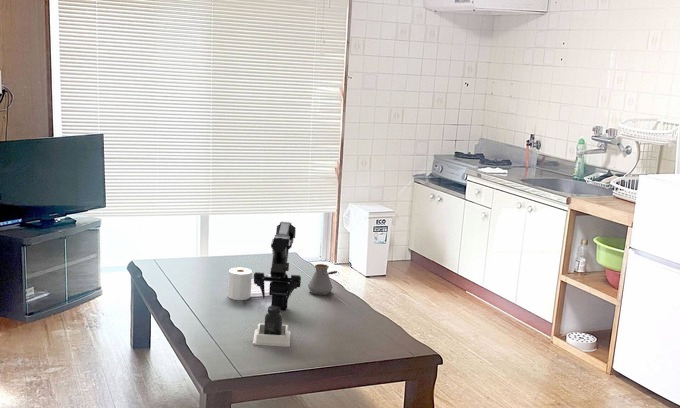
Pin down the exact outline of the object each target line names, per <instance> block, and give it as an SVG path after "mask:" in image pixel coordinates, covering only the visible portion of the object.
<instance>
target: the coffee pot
mask: <svg viewBox="0 0 680 408" xmlns="http://www.w3.org/2000/svg"><path fill="white" fill-rule="evenodd" d="M314 268H315V272H314V273H313V275H312V277H311V279H310V281H309V282H308V284H307V288H308V290H309V291H311V293H312V294H314V295H317V296H325V295H328V294H329V293H330V292H331V291H332V289H333V284H332V281H331V277H330V275H333V274H334V275H335V276H339V274H340V272H338V270H333V271H332V270H331V271H329V272H328V269H329V268H330V267H329V265H328V264H323V263H319V264H318V263H317V264H315V265H314ZM337 273H338V275H337Z"/></svg>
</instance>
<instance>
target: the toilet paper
mask: <svg viewBox="0 0 680 408" xmlns="http://www.w3.org/2000/svg"><path fill="white" fill-rule="evenodd" d="M252 279H253V270H252V269H249V268H247V267H232V268H230V269H229V270H228V286H227V288H228V289H227V298H229V299H231V300H234V301H246V300H249V299H251V297H252V296H251V294H252Z"/></svg>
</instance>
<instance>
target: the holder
mask: <svg viewBox="0 0 680 408" xmlns="http://www.w3.org/2000/svg"><path fill="white" fill-rule="evenodd" d="M264 324H265V323H258V324H257V329H254V335H253V341H252V346H270V347H271V346H272V347H285V348H286V347H287V348H288V347H290V346H291V330H288V329H289V325H288V324H282V334H281V335H267V334H264Z"/></svg>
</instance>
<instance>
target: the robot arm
mask: <svg viewBox="0 0 680 408" xmlns="http://www.w3.org/2000/svg"><path fill="white" fill-rule="evenodd" d="M294 239H296V227H295V226H294V225H292V222H290V221H280V222H279V224H278V225H277V226H276V232H275V234H274V237H273V238H272V239H271V243H270V248H271V250H272V251H271V252H272V260H271V261H272V262H271V267H270V273H269V274H270V276H269V275H265V272H259V271H258V272H257V271H256V272H254V273H253V284H254V285H256V286H257V287H259V289H260V290H261V295H262V299H263V300H264V299H265V297H266V296H265V295H266V294H265V291H266V290H265V282H269V292H268V293H269V294H268V295H269V296H271V303H270V304H271V305H270V306H278V307H280V312H281V311H282V312H284V311H285V312H286V311H287V308H288V301H289V299H290V297H291V295H292V293H293V292H294V290H297V289H298V288H300V287H301V283H302V282H301V281H302V277H301V275H299V274H291V276H290V277H289V276H288V274H287V272H289V269H290V262H288V259H289V250H290V249H291V248H292V247H293V244H294Z"/></svg>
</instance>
